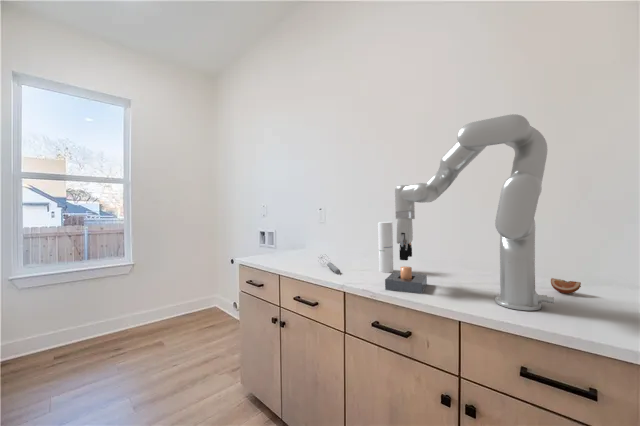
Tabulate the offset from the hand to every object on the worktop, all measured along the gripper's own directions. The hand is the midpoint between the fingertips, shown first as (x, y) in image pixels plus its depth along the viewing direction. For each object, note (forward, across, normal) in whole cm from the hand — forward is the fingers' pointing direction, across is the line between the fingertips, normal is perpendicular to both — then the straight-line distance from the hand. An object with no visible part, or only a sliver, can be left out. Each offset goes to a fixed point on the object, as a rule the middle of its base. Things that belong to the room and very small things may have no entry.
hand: (406, 258), depth 120 cm
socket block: (+12, 0, 0) cm, 12 cm away
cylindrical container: (+12, -26, -15) cm, 32 cm away
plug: (+12, 0, 0) cm, 12 cm away
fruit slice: (+12, -12, +54) cm, 57 cm away
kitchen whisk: (+12, -23, -45) cm, 52 cm away
